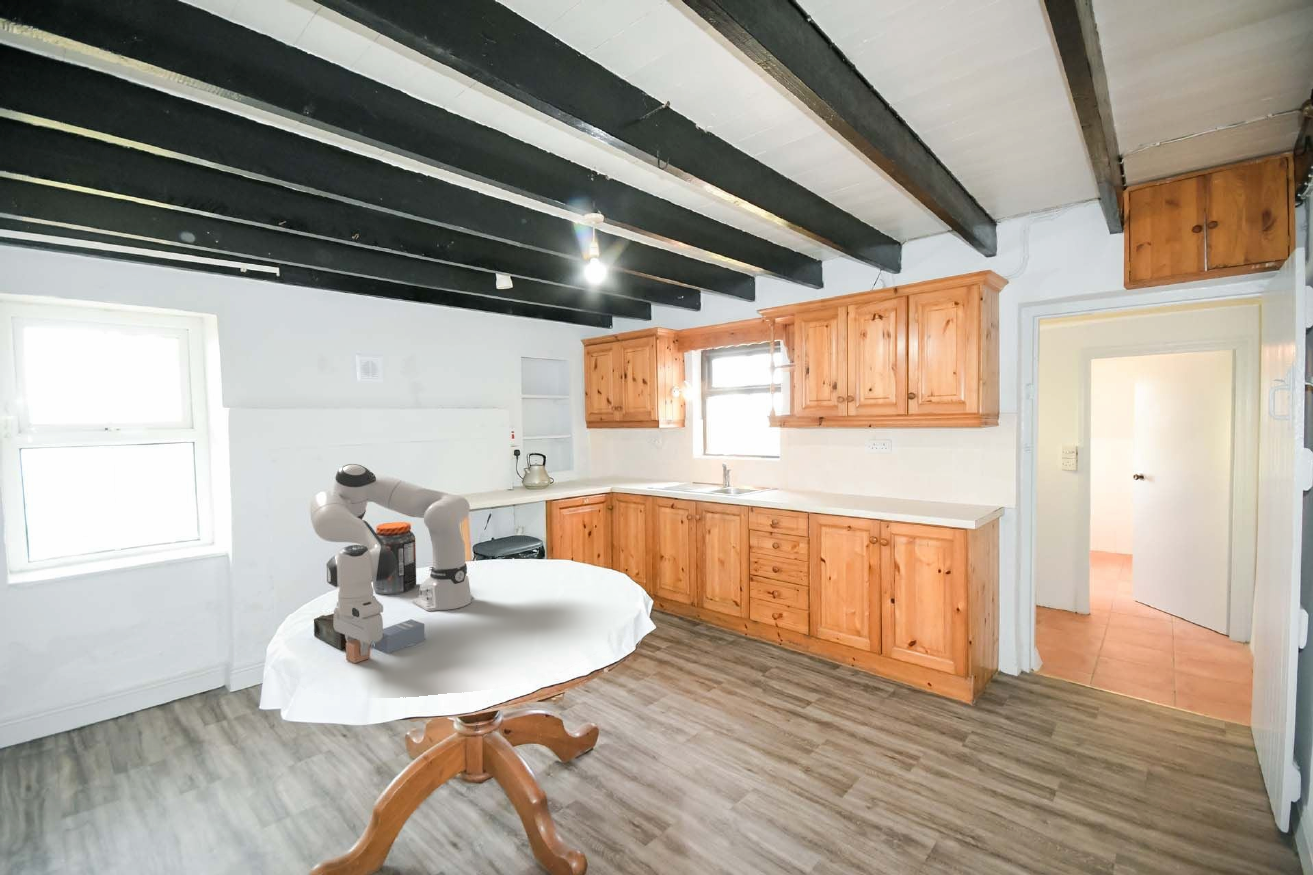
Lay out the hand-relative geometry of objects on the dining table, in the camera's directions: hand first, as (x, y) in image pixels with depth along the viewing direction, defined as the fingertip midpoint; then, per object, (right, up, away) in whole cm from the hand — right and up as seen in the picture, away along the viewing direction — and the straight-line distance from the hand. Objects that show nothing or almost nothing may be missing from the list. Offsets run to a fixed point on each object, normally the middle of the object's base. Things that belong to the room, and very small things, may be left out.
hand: (357, 651), depth 161 cm
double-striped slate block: (+7, -2, +11) cm, 13 cm away
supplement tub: (-19, 0, +65) cm, 68 cm away
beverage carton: (-13, -2, +15) cm, 20 cm away
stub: (0, -2, 0) cm, 2 cm away
